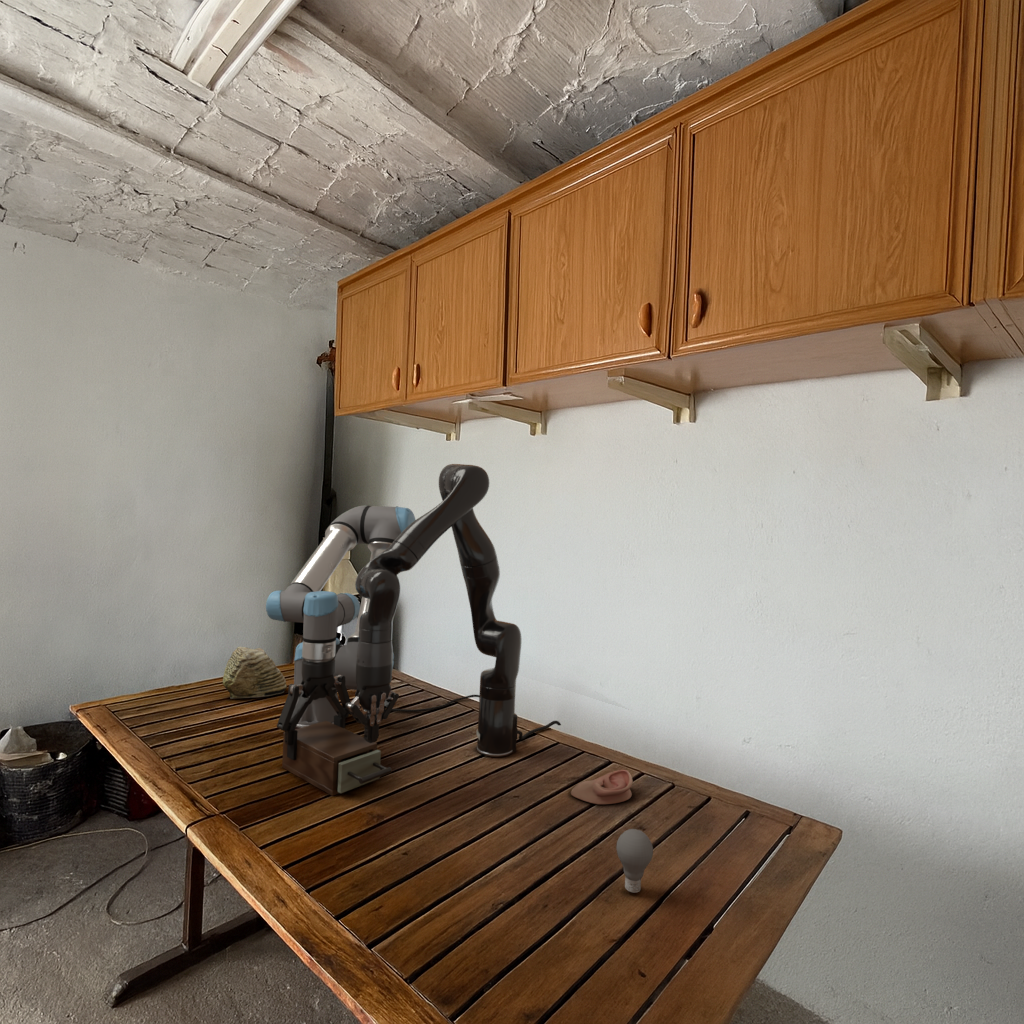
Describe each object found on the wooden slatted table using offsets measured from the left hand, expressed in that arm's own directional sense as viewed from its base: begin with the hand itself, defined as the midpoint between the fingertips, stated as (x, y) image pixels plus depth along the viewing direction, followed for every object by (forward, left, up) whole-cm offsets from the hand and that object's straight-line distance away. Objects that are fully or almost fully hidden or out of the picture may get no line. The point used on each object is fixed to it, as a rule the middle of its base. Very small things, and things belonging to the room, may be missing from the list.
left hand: (315, 750), depth 149 cm
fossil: (-17, -58, -4) cm, 60 cm away
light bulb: (-8, +79, -4) cm, 79 cm away
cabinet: (0, +5, -4) cm, 7 cm away
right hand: (0, +20, +8) cm, 22 cm away
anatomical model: (-35, +57, -4) cm, 67 cm away
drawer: (0, +11, -3) cm, 11 cm away
